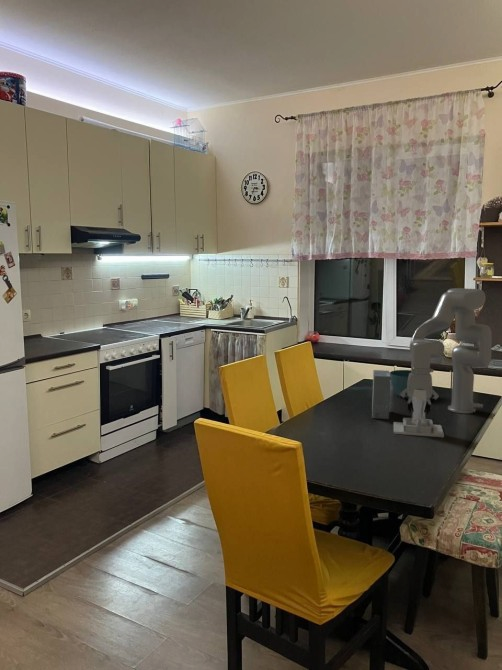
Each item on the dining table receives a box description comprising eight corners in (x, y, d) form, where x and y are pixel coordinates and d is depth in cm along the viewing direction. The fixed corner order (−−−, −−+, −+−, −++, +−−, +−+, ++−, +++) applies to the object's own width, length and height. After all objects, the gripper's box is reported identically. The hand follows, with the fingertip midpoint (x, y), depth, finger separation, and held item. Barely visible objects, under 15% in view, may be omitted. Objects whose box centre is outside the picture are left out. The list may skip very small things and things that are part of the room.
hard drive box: (389, 419, 253) (390, 376, 250) (372, 418, 255) (373, 376, 252) (387, 410, 268) (389, 370, 266) (371, 409, 270) (372, 369, 267)
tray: (440, 427, 242) (441, 413, 241) (443, 437, 228) (444, 423, 228) (393, 424, 247) (393, 410, 246) (393, 433, 233) (394, 419, 232)
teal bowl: (428, 400, 288) (429, 377, 286) (393, 400, 288) (394, 376, 286) (418, 391, 306) (419, 369, 304) (385, 391, 306) (386, 369, 304)
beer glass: (427, 421, 239) (429, 387, 237) (425, 426, 233) (427, 391, 230) (411, 419, 242) (412, 385, 240) (408, 423, 235) (409, 389, 233)
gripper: (441, 370, 236) (439, 411, 238) (398, 368, 240) (397, 408, 242) (442, 373, 228) (440, 416, 231) (399, 371, 232) (397, 413, 235)
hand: (418, 412), depth 237 cm, fingers closed on beer glass, 6 cm apart
